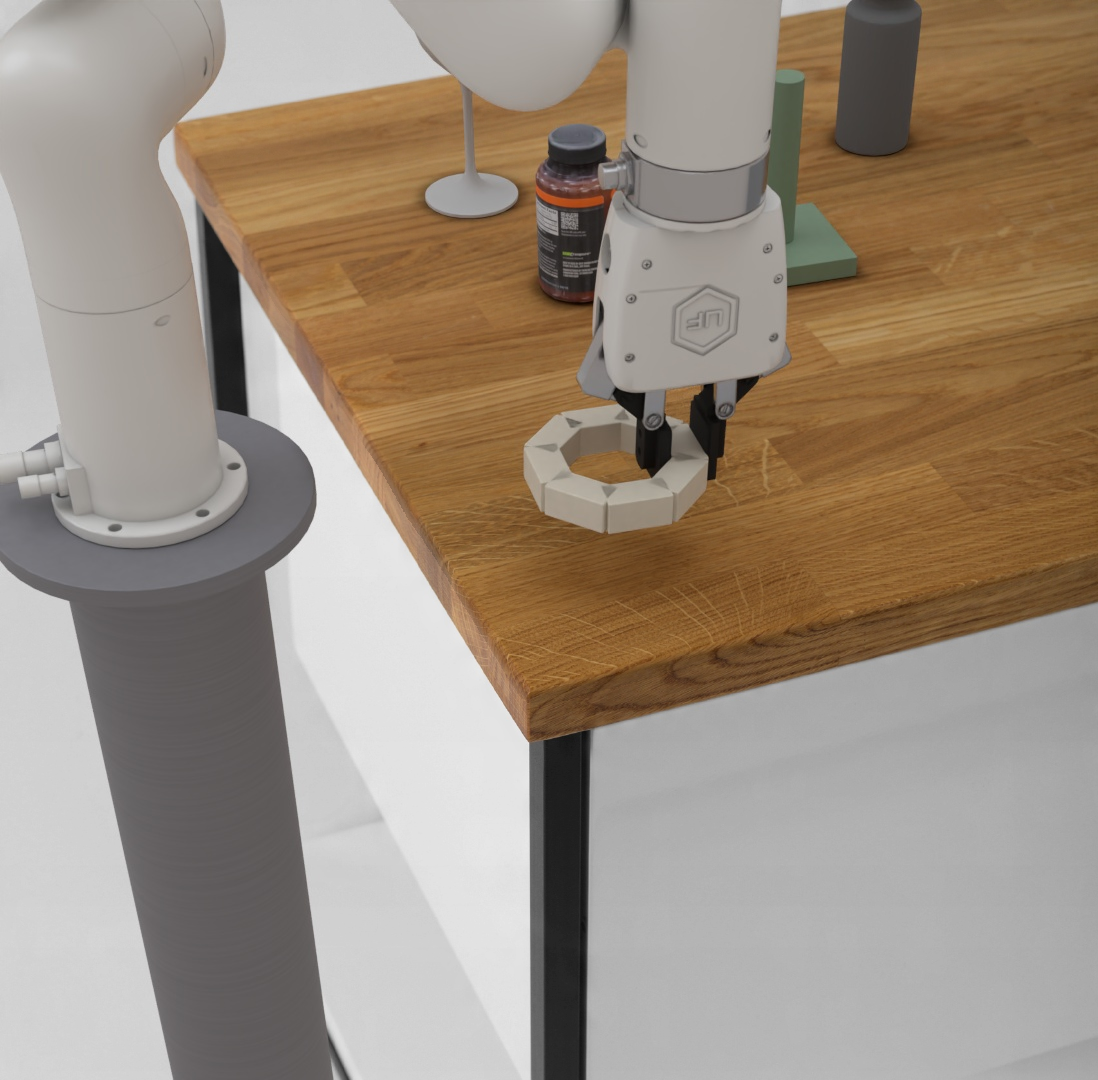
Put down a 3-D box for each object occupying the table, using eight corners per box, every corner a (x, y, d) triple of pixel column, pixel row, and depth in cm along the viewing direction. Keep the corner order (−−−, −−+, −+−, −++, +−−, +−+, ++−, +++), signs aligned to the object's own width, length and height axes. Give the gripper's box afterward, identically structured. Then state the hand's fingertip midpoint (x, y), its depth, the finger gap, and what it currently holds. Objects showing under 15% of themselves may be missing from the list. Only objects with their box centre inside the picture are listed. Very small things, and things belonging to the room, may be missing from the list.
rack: (738, 293, 146) (748, 110, 137) (697, 237, 152) (704, 58, 143) (856, 275, 148) (873, 93, 138) (811, 220, 154) (825, 42, 145)
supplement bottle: (605, 260, 150) (605, 110, 142) (632, 298, 146) (634, 146, 138) (527, 273, 149) (523, 123, 141) (552, 312, 144) (550, 159, 137)
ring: (555, 543, 114) (555, 513, 113) (509, 448, 121) (509, 418, 120) (724, 516, 116) (726, 486, 115) (670, 424, 123) (671, 395, 122)
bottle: (910, 127, 165) (931, -64, 155) (904, 159, 161) (926, -35, 151) (838, 121, 166) (854, -68, 156) (830, 153, 162) (846, -40, 152)
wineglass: (536, 184, 159) (530, -97, 145) (494, 226, 154) (484, -60, 140) (449, 167, 161) (435, -110, 147) (405, 208, 156) (386, -75, 142)
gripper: (568, 225, 103) (564, 528, 115) (865, 187, 106) (829, 486, 119) (529, 160, 108) (529, 457, 121) (813, 126, 111) (784, 418, 124)
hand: (678, 469), depth 119 cm, fingers closed on ring, 2 cm apart
